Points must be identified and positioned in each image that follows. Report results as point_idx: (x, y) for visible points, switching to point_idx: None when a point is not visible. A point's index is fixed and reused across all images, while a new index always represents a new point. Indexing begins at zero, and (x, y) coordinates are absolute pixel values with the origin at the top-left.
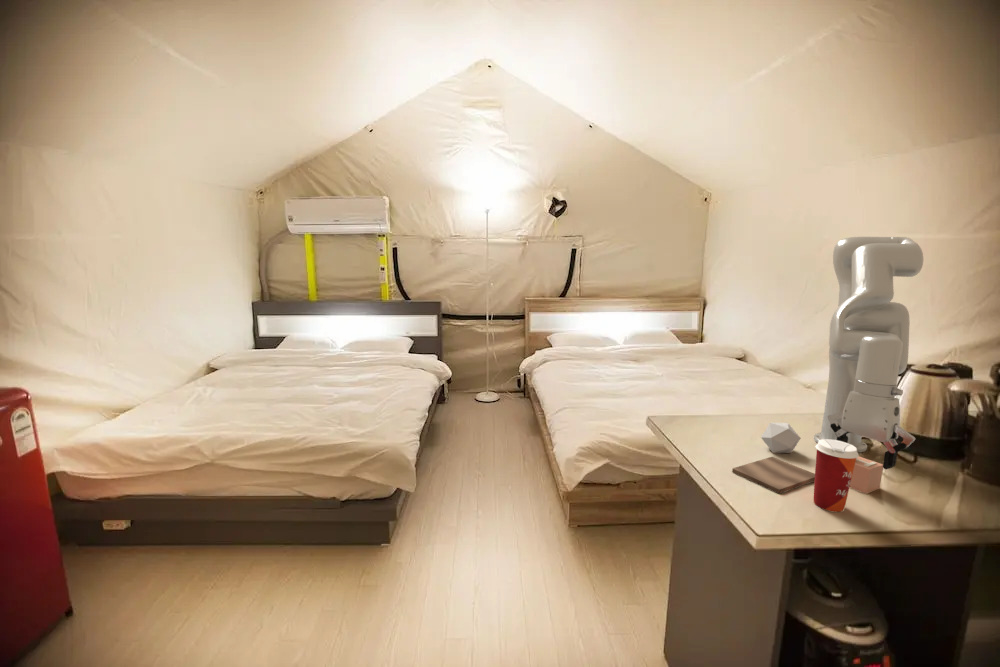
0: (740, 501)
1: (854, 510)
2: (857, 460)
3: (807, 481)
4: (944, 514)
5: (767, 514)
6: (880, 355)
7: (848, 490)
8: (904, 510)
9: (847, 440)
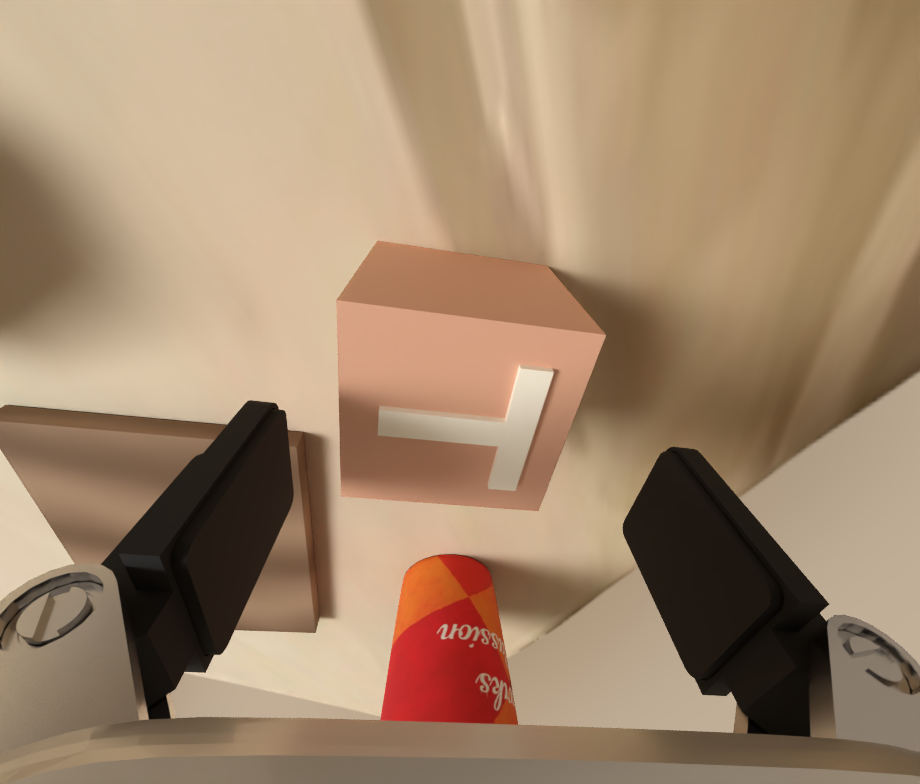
0: (304, 686)
1: (515, 555)
2: (422, 437)
3: (306, 512)
4: (834, 330)
5: (378, 686)
6: None
7: (507, 663)
8: (663, 433)
9: (217, 517)
